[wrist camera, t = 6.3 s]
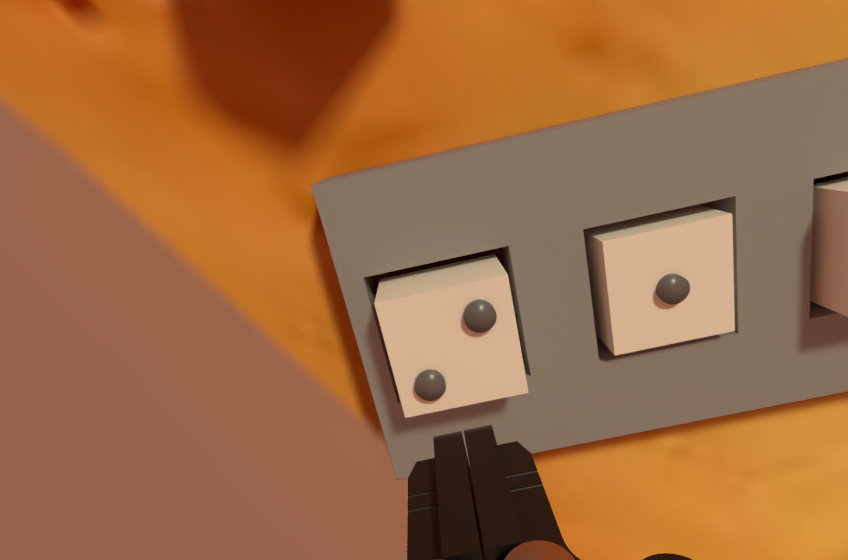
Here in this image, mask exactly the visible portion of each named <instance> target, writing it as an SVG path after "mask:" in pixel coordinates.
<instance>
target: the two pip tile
mask: <svg viewBox="0 0 848 560" xmlns="http://www.w3.org/2000/svg"><path fill="white" fill-rule="evenodd" d="M374 305H375V308H376V312H377V316H378V319H379V323H380V327H381V330H382V334H383V338H384V342H385V345H386V349H387V353H388V356H389V360H390V364H391V367H392V371H393V375H394V378H395V382H396V386H397V389H398V393H399V397H400V400H401V404H402V408H403V411H404V415H405V418H407V417H412V416H417V415H422V414H427V413H432V412H437V411H442V410H447V409H452V408H457V407H462V406H466V405H471V404H476V403H481V402H486V401H491V400H496V399H501V398H506V397H511V396H516V395H520V394H525V393H529V392H528V386H527V381H526V375H525V369H524V363H523V358H522V352H521V346H520V341H519V335H518V329H517V324H516V318H515V312H514V307H513V301H512V295H511V289H510V284H509V278H508V274H507V273H506V271H505V269H504V268H503V266H502V265H501V263H500V262H499V260H498V259H497V257H496V256H495V254H493V255H488V256H484V257H479V258H474V259H470V260H465V261H461V262H456V263H452V264H447V265H442V266H438V267H433V268H429V269H424V270H419V271H415V272H410V273H406V274H401V275H397V276H392V277H387V278H383V279H380V281H379V285H378V290H377V294H376V298H375V302H374Z"/></svg>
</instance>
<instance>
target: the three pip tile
mask: <svg viewBox="0 0 848 560" xmlns="http://www.w3.org/2000/svg"><path fill="white" fill-rule="evenodd" d="M810 301H812V302H814V303H816V304H819V305H821V306H823V307H826V308H828V309H830V310H833V311H835V312H837V313H840V314H842V315H844V316H847V317H848V177H845V178H840V179H836V180H831V181H826V182H822V183H817V184H813V216H812V249H811V283H810Z"/></svg>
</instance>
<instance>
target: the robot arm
mask: <svg viewBox="0 0 848 560" xmlns="http://www.w3.org/2000/svg"><path fill="white" fill-rule="evenodd" d="M464 435H465V441H466V447H467V452H468V457H467V453H466V448H465V444H464V440H463V435H462V431H458V432H453V433H448V434H443V435H438V436H434V437H433V442H434V456H435V458H432V459H427V460H422V461H417V462H416V463H415V465H414V467H413V469H412V471H411V473H410V475H409V477H408V546H407V549H408V550H407V552H408V553H407V556H408V557H407V560H580V559H579V558H577V557H576V556H575V555H574V554H573V553H572V552H571V551H570V550H569V549H568V547H567V546H566V544H565V542H564V540H563V538H562V535H561V533H560V530H559V527H558V525H557V522H556V519H555V517H554V514H553V511H552V509H551V506H550V503H549V501H548V498H547V495H546V493H545V490H544V487H543V485H542V482H541V479H540V476H539V474H538V472H537V468H536V466H535V463H534V460H533V458H532V455H531V453H530V452H529V451H528V450H527V449H526V448H524V447H523V446H522V445H521V444H520V443H519V442H518V441H515V442H510V443H505V444H500V445H497V442H496V439H495V435H494V431H493V428H492V425H487V426H482V427H477V428H472V429H467V430H464ZM468 458H469V461H468ZM469 464H470V466H469ZM643 560H692V559H690V558H687V557H684V556H681V555H676V554H667V553H664V554H656V555H652V556H649V557H647V558H645V559H643Z"/></svg>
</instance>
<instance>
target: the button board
mask: <svg viewBox="0 0 848 560" xmlns="http://www.w3.org/2000/svg"><path fill="white" fill-rule="evenodd" d="M843 172H848V58H847V59H843V60H838V61H834V62H830V63H825V64H821V65H817V66H812V67H808V68H804V69H799V70H795V71H791V72H786V73H782V74H778V75H773V76H769V77H765V78H760V79H756V80H752V81H747V82H743V83H739V84H734V85H730V86H726V87H721V88H717V89H713V90H708V91H704V92H700V93H695V94H691V95H687V96H682V97H678V98H674V99H669V100H665V101H661V102H656V103H652V104H648V105H643V106H639V107H635V108H630V109H626V110H622V111H617V112H613V113H609V114H604V115H600V116H596V117H591V118H587V119H583V120H578V121H574V122H570V123H565V124H561V125H557V126H552V127H548V128H544V129H539V130H535V131H531V132H526V133H522V134H517V135H513V136H509V137H504V138H500V139H496V140H491V141H487V142H483V143H478V144H474V145H470V146H465V147H461V148H457V149H452V150H448V151H444V152H439V153H435V154H431V155H426V156H422V157H418V158H413V159H409V160H405V161H400V162H396V163H392V164H387V165H383V166H379V167H374V168H370V169H366V170H361V171H357V172H353V173H348V174H344V175H340V176H335V177H331V178H327V179H323V180H321V181H319V182H317V183H315V184H313V185H311V187H312V191H313V194H314V198H315V201H316V204H317V208H318V211H319V215H320V218H321V222H322V225H323V228H324V232H325V235H326V239H327V242H328V246H329V249H330V252H331V256H332V259H333V263H334V266H335V270H336V273H337V276H338V280H339V283H340V287H341V290H342V294H343V297H344V300H345V304H346V307H347V311H348V314H349V318H350V321H351V324H352V328H353V331H354V335H355V338H356V342H357V345H358V348H359V352H360V355H361V359H362V362H363V366H364V369H365V372H366V376H367V379H368V383H369V386H370V390H371V393H372V396H373V400H374V403H375V407H376V410H377V414H378V417H379V420H380V424H381V427H382V431H383V434H384V438H385V441H386V444H387V448H388V451H389V455H390V458H391V462H392V465H393V468H394V472H395V475H396V478H397V480H400V479H405V478H408V477H409V475H410V473H411V471H412V469H413V467H414V465H415V463H416V462H417V461H422V460H427V459H432V458H435V456H434V442H433V437H434V436H438V435H443V434H448V433H453V432H458V431H462V435H463V440H464V444H465V448H466V453H467V457H468V452H467V447H466V441H465V435H464V430H467V429H472V428H477V427H482V426H487V425H492V428H493V431H494V435H495V439H496V442H497V445H500V444H505V443H510V442H515V441H518V442H519V443H520V444H521V445H522V446H523V447H524V448H526V449H527V450H528V451H529V452H530V453H531V454H532V453H537V452H542V451H547V450H552V449H557V448H562V447H567V446H573V445H578V444H583V443H588V442H593V441H598V440H603V439H608V438H613V437H618V436H623V435H628V434H633V433H639V432H644V431H649V430H654V429H659V428H664V427H669V426H674V425H679V424H684V423H689V422H694V421H699V420H704V419H710V418H715V417H720V416H725V415H730V414H735V413H740V412H745V411H750V410H755V409H760V408H765V407H770V406H775V405H781V404H786V403H791V402H796V401H801V400H806V399H811V398H816V397H821V396H826V395H831V394H836V393H841V392H846V391H848V317H847V316H844V315H842V314H840V313H837V312H835V311H833V310H830V309H828V308H826V307H823V306H821V305H819V304H816V303H814V302H812V301H810V283H811V249H812V216H813V183H814V179H816V178H820V177H825V176H829V175H834V174H839V173H843ZM697 204H700V205H701V206H705V207H708V208H712V209H716V210H720V211H724V212H728V213H731V214H732V223H733V268H734V313H735V331H732V332H727V333H722V334H717V335H713V336H708V337H703V338H698V339H693V340H688V341H683V342H678V343H674V344H669V345H664V346H659V347H654V348H649V349H644V350H640V351H635V352H630V353H625V354H620V355H614V354H613V353H612V352H611V351H610V350H609V348H608V347H607V346H606V345H605V344H604V343H603V342H602V341H601V339H600V338H599V337H598V336H597V335H596V331H595V323H594V315H593V307H592V298H591V290H590V282H589V273H588V265H587V257H586V249H585V240H584V232H583V229H588V228H592V227H597V226H601V225H606V224H610V223H615V222H620V221H624V220H629V219H633V218H638V217H642V216H647V215H652V214H656V213H661V212H665V211H670V210H674V209H679V208H683V207H688V206H693V205H697ZM496 248H501V252H502V257H503V263H504V268H505V271H506V273H507V274H508V278H509V284H510V289H511V295H512V301H513V307H514V312H515V318H516V324H517V329H518V335H519V341H520V346H521V352H522V358H523V363H524V369H525V375H526V381H527V386H528V392H529V393H525V394H520V395H516V396H511V397H506V398H501V399H496V400H491V401H486V402H481V403H476V404H471V405H466V406H462V407H457V408H452V409H447V410H442V411H437V412H432V413H427V414H422V415H417V416H412V417H407V418H405V415H404V411H403V408H402V404H401V400H400V397H399V393H398V389H397V386H396V382H395V378H394V375H393V371H392V367H391V364H390V360H389V356H388V353H387V349H386V345H385V342H384V338H383V334H382V330H381V327H380V323H379V319H378V316H377V312H376V308H375V305H374V302H375V298H376V294H377V290H376V286H375V282H374V278H373V275H378V274H382V273H387V272H392V271H396V270H401V269H405V268H410V267H414V266H419V265H423V264H428V263H433V262H437V261H442V260H446V259H451V258H455V257H460V256H464V255H469V254H474V253H478V252H483V251H487V250H492V249H496ZM468 461H469V458H468ZM469 466H470V464H469Z"/></svg>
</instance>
